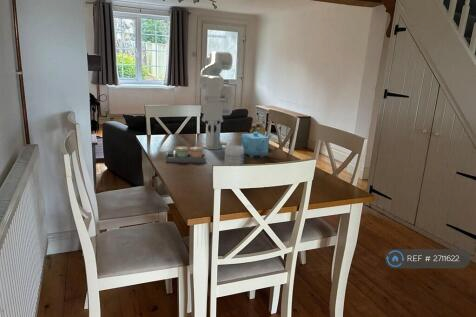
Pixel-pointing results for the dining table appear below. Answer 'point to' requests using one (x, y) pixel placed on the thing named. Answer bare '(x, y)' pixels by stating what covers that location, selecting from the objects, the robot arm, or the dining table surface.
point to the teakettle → (255, 144)
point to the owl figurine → (258, 128)
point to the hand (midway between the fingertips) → (212, 132)
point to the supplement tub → (234, 155)
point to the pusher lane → (171, 158)
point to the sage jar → (181, 152)
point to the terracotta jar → (195, 152)
